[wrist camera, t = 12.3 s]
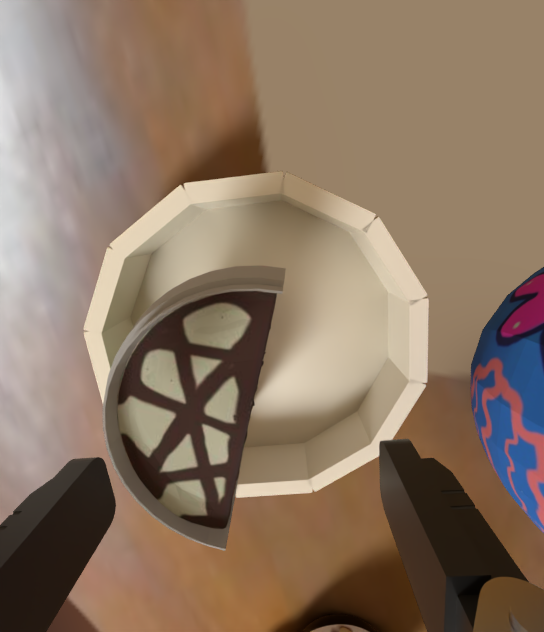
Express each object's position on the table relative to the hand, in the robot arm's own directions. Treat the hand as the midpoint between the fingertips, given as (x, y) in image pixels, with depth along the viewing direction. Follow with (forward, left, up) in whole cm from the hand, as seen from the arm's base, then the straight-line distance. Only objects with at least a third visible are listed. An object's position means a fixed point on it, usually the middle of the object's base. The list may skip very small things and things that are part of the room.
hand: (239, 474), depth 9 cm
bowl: (0, 0, -13) cm, 13 cm away
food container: (+3, 0, -13) cm, 13 cm away
